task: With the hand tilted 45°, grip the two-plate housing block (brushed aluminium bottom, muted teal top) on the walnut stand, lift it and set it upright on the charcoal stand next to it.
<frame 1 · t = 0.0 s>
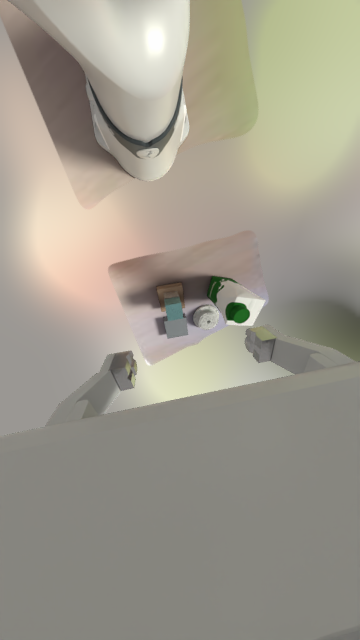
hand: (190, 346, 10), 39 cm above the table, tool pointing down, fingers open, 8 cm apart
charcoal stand: (175, 323, 56), on the table
milk carton: (218, 287, 51), on the table
walnut stand: (170, 295, 50), on the table
mechanical component: (205, 315, 57), on the table
housing: (171, 299, 47), point 3 cm above the table, touching walnut stand
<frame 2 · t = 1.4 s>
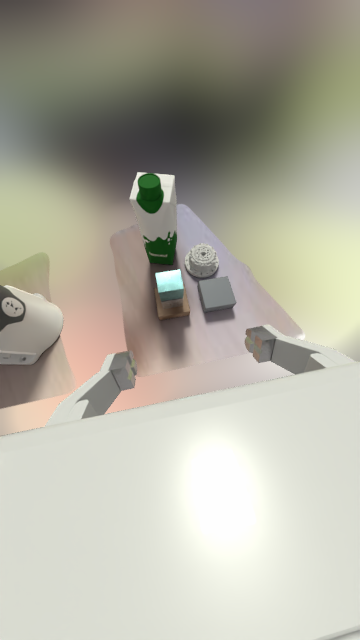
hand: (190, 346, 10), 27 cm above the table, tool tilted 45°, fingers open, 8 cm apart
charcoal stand: (214, 296, 41), on the table
milk carton: (163, 254, 45), on the table
walnut stand: (172, 304, 40), on the table
mechanical component: (201, 264, 44), on the table
housing: (171, 299, 37), point 3 cm above the table, touching walnut stand
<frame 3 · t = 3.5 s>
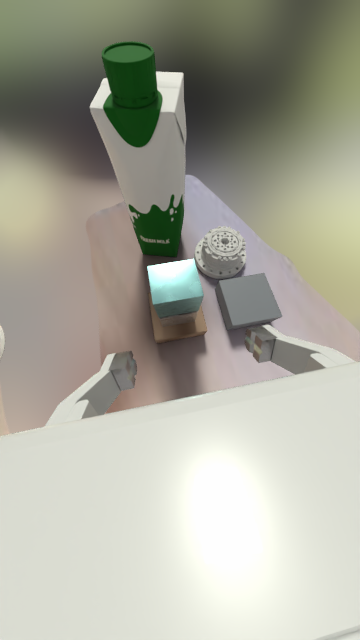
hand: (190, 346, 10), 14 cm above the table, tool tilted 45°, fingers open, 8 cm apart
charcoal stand: (241, 305, 26), on the table
milk carton: (162, 242, 31), on the table
walnut stand: (176, 316, 26), on the table
mechanical component: (218, 259, 30), on the table
housing: (176, 310, 23), point 3 cm above the table, touching walnut stand
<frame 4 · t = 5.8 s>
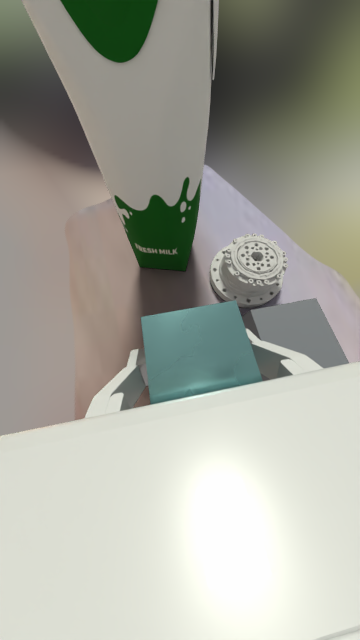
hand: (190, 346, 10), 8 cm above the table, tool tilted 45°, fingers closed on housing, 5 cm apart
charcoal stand: (279, 341, 19), on the table
milk carton: (166, 251, 23), on the table
mechanical component: (241, 278, 22), on the table
housing: (188, 358, 15), point 3 cm above the table, touching gripper, walnut stand
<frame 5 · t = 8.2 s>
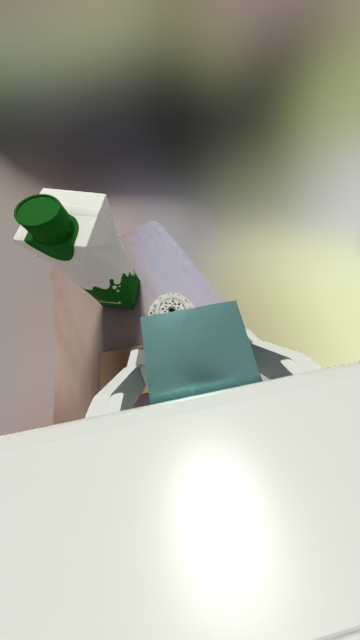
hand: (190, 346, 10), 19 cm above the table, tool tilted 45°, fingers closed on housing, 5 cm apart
milk carton: (122, 293, 33), on the table
walnut stand: (128, 371, 28), on the table
mechanical component: (172, 317, 32), on the table
housing: (188, 359, 15), point 14 cm above the table, touching gripper
when the fingers open (10 cm above the table, at t = 10.9 s): housing drops 1 cm, resting on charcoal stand.
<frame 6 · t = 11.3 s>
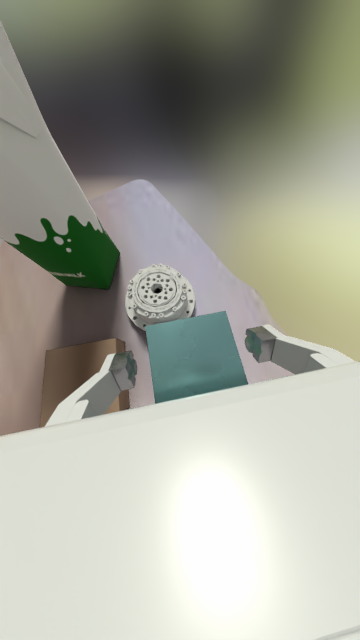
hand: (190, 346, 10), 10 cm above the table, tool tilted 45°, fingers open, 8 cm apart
milk carton: (95, 268, 24), on the table
walnut stand: (95, 378, 19), on the table
mechanical component: (161, 303, 22), on the table
housing: (187, 359, 16), point 3 cm above the table, touching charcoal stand
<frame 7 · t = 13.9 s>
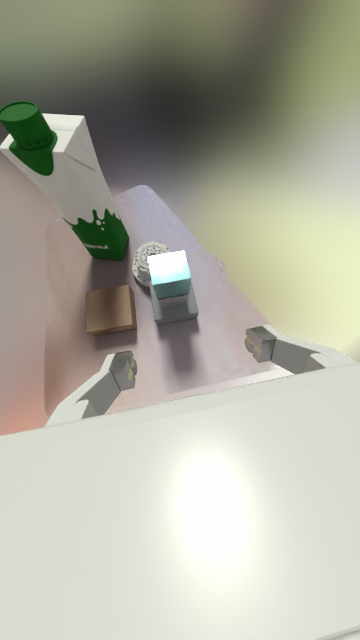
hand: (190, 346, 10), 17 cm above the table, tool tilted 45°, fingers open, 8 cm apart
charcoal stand: (173, 302, 30), on the table
milk carton: (111, 247, 35), on the table
walnut stand: (115, 312, 30), on the table
mechanical component: (156, 269, 33), on the table
housing: (172, 296, 27), point 3 cm above the table, touching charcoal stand
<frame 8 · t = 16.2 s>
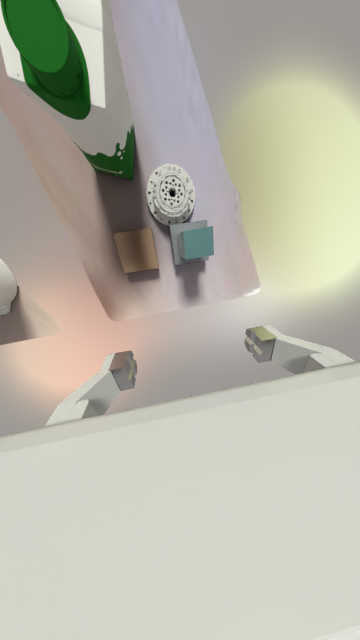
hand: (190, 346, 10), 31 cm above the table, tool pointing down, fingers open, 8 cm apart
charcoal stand: (188, 243, 35), on the table
milk carton: (114, 150, 27), on the table
walnut stand: (138, 251, 35), on the table
mechanical component: (170, 199, 31), on the table
housing: (189, 243, 33), point 3 cm above the table, touching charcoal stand
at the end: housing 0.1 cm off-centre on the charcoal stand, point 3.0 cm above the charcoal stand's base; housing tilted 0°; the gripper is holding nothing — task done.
